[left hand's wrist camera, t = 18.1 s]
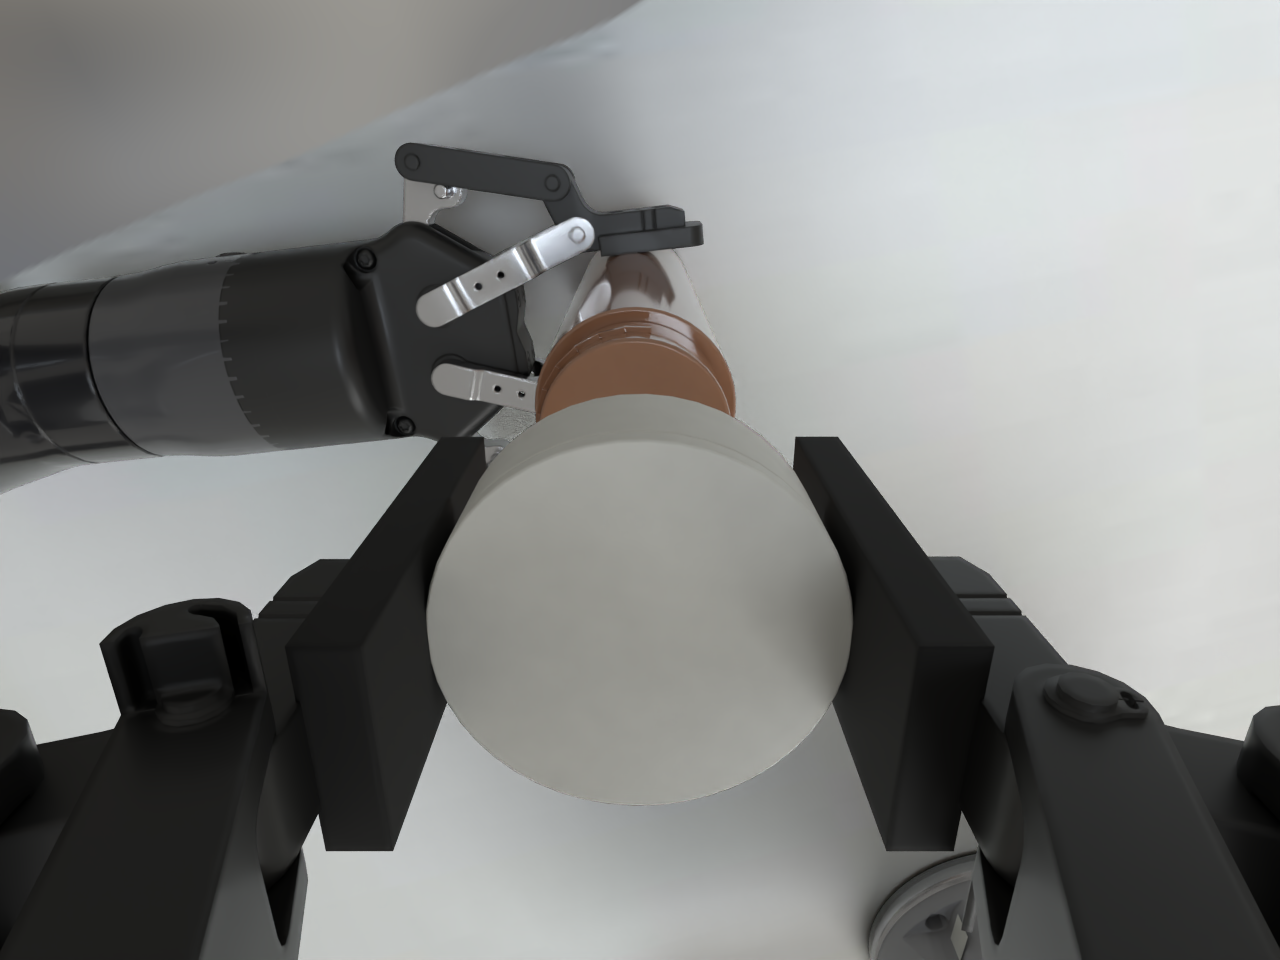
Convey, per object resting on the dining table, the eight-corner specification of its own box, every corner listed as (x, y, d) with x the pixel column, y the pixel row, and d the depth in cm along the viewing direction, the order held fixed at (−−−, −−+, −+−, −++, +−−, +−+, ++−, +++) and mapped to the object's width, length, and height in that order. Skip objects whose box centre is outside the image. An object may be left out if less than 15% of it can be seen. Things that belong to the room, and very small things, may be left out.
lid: (798, 718, 13) (825, 811, 11) (468, 708, 13) (438, 801, 11) (842, 399, 11) (884, 447, 9) (449, 386, 11) (408, 431, 9)
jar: (570, 249, 34) (495, 353, 16) (676, 222, 34) (722, 298, 15) (598, 353, 36) (559, 553, 18) (698, 328, 35) (764, 508, 17)
